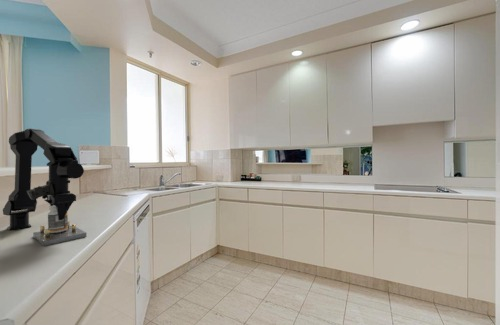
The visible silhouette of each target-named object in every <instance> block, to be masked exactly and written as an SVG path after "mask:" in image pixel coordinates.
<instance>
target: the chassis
mask: <svg viewBox="0 0 500 325" xmlns="http://www.w3.org/2000/svg"><path fill="white" fill-rule="evenodd" d="M39 227H40V230H39V231H34V232H32V235H33V238H34V239H35V240H36V241H38V243H40V244H41V245H42V246H43V247H46V246H50V245H54V244H55V245H56V244H58V243H64V242H68V241H72V240H78V239H82V238H86V237H87V232H86V231H84V230H83V229H81V228H79V227H77V224H76V223H74V224H71V222H70V220H68V229H67V230H66V231H63V232H58V233H50V229H48V228H46V225H45V224H44V225H43V224H42V225H40V226H39Z"/></svg>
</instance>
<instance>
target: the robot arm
mask: <svg viewBox="0 0 500 325" xmlns="http://www.w3.org/2000/svg"><path fill="white" fill-rule="evenodd" d="M8 143H9V149H10V150H11V151H12V153H13V154H14V155H15V167H14V168H15V169H14V171H15V172H14V190H13V191H12V192H11V193H10V194H9V195H8V197H7V198H8V199H7V202H6V203H5V205H4V207H3V208H2V214H3V215H4V216H7V217H8V216H9V226H7V229H8V230H9V231H13V230H21V229H25V228H26V229H27V228H30V227H32V225H31V223H30V213H34V212H35V211H36V209H37V205H38V199H40V198H41V197H42V199H44V201H45V202H46V203H48V204H49V206H53V205H55V206H56V208H57V213H58V218H59V220H63V219H64V217H65V215H66V213H67V214H68V211H69V210H70V208H71V206H72V204H73V203H74V202H76V201H77V195H76V194H74V193H72V192H71V191H70V190H69V184H70V183H71V179H73V180H75V179H79V178H81V177H82V176H83V175H84V173H85V168H84V167H83V166H82V165H81V163H79V160H78V158H77V156H76V155H75V153H74V151H73V148H72V147H71V146H70V145H67V144H65V143H61V142H57V141H55V139H53V138H52V137H51V136H49V135H48V134H47V133H45V131H44V130H42V129H36V128H26V129H25V130H22V131H17V132H14V133H12V135H10V136H9V139H8ZM38 147H40V148H41V149H42V150H43V156H44V157H45V158H46V159H47V160H48V161H49V162H47V163H46V166H48V180H47V181H45V184H44V185H41V186H40V185H38V186H36V187H33V188H31V186H32V183H31V182H32V157H33V155H34V154H35V153H36V152H37V151H38ZM69 179H70V180H69Z"/></svg>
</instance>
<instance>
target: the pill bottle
mask: <svg viewBox="0 0 500 325" xmlns="http://www.w3.org/2000/svg"><path fill="white" fill-rule="evenodd" d="M48 207H49V212H48V213H47V229H50V233H58V232H63V231H66V230H67V229H68V221H69V220H68V218H69V217H68V212H67V213H66V215H65V217H64V219H63V220H59V218H58V213H57V208H56V206H55V205H53V206H50V205H49V206H48Z"/></svg>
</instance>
